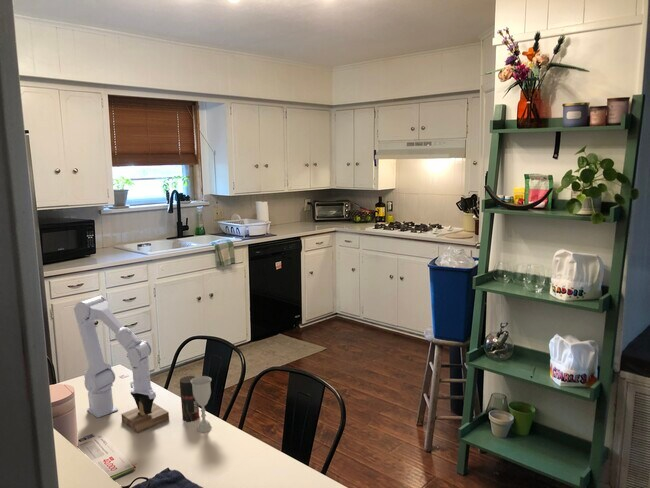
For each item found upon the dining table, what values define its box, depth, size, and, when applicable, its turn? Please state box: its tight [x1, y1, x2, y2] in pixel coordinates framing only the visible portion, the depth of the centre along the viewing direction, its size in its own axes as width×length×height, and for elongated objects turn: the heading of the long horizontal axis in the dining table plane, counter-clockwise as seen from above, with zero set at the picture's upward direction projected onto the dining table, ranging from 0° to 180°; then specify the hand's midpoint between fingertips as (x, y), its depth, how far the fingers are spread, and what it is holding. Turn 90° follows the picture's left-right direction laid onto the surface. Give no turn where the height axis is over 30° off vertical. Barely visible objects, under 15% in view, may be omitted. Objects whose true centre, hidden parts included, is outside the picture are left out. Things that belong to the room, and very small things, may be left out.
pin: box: [139, 401, 149, 417], centre depth 190 cm, size 3×3×7 cm
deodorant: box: [179, 375, 200, 423], centre depth 190 cm, size 6×6×15 cm
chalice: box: [190, 375, 213, 433], centre depth 183 cm, size 7×7×18 cm
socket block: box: [120, 402, 170, 434], centre depth 190 cm, size 12×12×3 cm
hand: (144, 411), depth 190 cm, fingers open, 4 cm apart
